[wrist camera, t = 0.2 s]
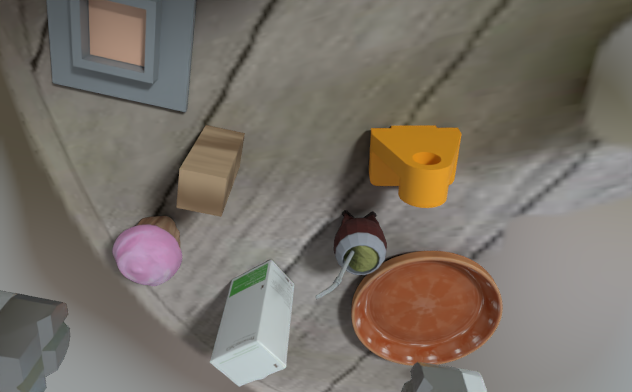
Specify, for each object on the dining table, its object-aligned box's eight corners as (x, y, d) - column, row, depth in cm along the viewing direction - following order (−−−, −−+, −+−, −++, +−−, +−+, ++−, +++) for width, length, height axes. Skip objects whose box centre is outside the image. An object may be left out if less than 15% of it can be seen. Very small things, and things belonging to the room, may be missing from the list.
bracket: (368, 176, 62) (375, 227, 51) (370, 125, 58) (379, 170, 48) (448, 175, 61) (472, 227, 51) (456, 125, 58) (483, 169, 47)
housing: (45, -67, 48) (30, -66, 45) (198, -29, 49) (192, -26, 47) (56, 81, 56) (43, 88, 53) (187, 109, 57) (181, 118, 55)
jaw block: (205, 125, 58) (179, 168, 48) (244, 133, 59) (226, 178, 49) (202, 159, 61) (176, 207, 51) (239, 167, 61) (221, 216, 51)
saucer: (329, 326, 77) (328, 344, 74) (389, 223, 66) (392, 238, 63) (448, 362, 81) (453, 380, 78) (525, 270, 70) (534, 287, 66)
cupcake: (122, 209, 65) (90, 252, 57) (177, 195, 64) (153, 238, 55) (150, 256, 70) (125, 303, 61) (202, 244, 68) (184, 291, 60)
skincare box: (272, 257, 69) (258, 338, 56) (297, 285, 72) (289, 368, 59) (229, 280, 72) (206, 362, 58) (255, 306, 75) (238, 390, 61)
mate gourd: (392, 226, 66) (407, 300, 53) (350, 255, 69) (355, 332, 56) (358, 193, 63) (366, 262, 50) (316, 224, 66) (313, 298, 53)
